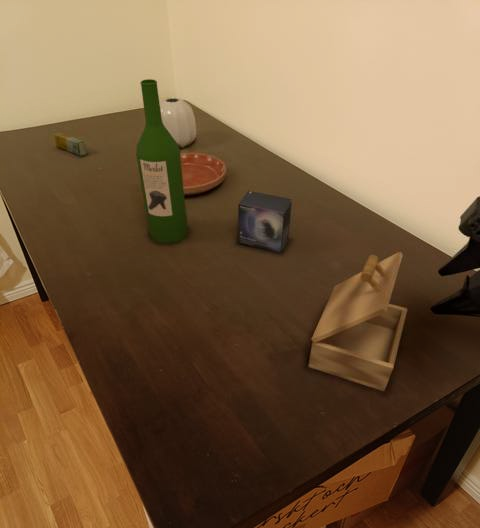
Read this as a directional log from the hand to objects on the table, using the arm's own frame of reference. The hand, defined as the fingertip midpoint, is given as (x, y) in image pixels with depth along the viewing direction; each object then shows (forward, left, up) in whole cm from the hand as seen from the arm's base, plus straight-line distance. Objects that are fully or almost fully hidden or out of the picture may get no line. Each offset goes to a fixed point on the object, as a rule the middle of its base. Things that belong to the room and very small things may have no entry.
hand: (436, 291), depth 61 cm
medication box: (+77, -93, -16) cm, 121 cm away
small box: (+21, -38, -16) cm, 46 cm away
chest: (+8, -4, -16) cm, 18 cm away
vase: (+44, -97, -16) cm, 107 cm away
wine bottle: (+43, -43, -16) cm, 63 cm away
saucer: (+40, -70, -16) cm, 82 cm away
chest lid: (+9, -4, -5) cm, 11 cm away
